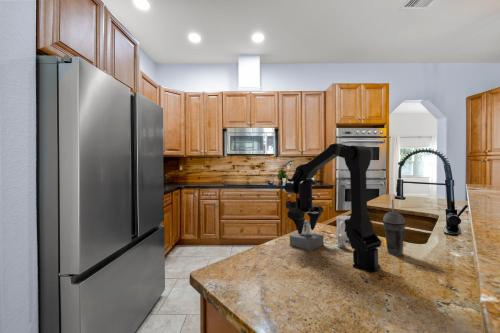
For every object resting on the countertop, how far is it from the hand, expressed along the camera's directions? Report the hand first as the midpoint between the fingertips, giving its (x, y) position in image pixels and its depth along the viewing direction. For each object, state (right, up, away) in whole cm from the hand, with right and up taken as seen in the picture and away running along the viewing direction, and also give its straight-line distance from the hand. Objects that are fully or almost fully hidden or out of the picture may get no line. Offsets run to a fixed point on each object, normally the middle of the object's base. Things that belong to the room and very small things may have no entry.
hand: (306, 231), depth 97 cm
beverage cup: (+30, -5, -12) cm, 33 cm away
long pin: (0, -6, 0) cm, 6 cm away
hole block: (0, -6, 0) cm, 6 cm away
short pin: (+13, -5, -4) cm, 15 cm away
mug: (+20, -5, +7) cm, 21 cm away
